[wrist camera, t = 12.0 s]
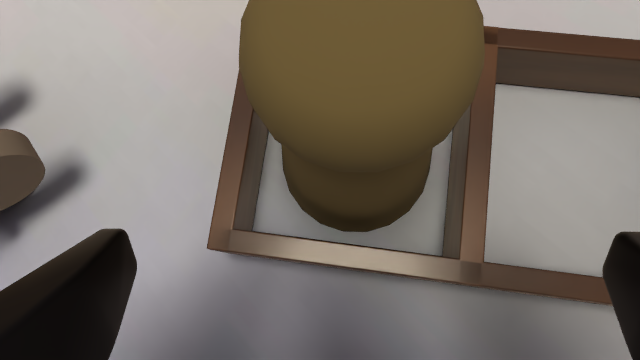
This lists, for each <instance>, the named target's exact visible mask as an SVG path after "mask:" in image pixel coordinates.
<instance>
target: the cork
mask: <svg viewBox="0 0 640 360" xmlns="http://www.w3.org/2000/svg"><path fill="white" fill-rule="evenodd" d="M484 58H485V45H484V25H483V15H482V13H481V10H480V8H479V5H478V3H477V1H476V0H249V2H248V4H247V7H246V9H245V12H244V14H243V17H242V19H241V31H240V47H239V69H240V72H241V76H242V79H243V83H244V87H245V90H246V94H247V97H248V101H249V103H250V104H251V106H252V107H253V109H254V110H255V112H256V113H257V115H258V116H259V118H260V119H261V120H262V122H263V123H264V125H265V126H266V128H267V129H268V130H269V132H270V133H271V135H272V136H273V138H274V139H275V140H277V141H278V142H279V143H281V144H282V159H283V171H284V174H285V177H286V181H287V184H288V188H289V191H290V193H291V194H292V195H293V197H294V198H295V200H296V201H297V203H298V204H299V206H300V207H301V209H302V210H303V211H305V212H306V213H307V214H309V215H310V216H311V217H313V218H314V219H315V220H317V221H318V222H319V223H321V224H323V225H326V226H329V227H332V228H335V229H338V230H341V231H354V232H368V231H371V230H374V229H377V228H381V227H384V226H387V225H390V224H391V223H393V222H394V221H396V220H397V219H398V218H400V217H401V216H403V215H404V214H406V213H407V212H408V211H409V210H410V209H411V207H412V206H413V205H414V203H415V202H416V201H417V199H418V198H419V197H420V195H421V194H422V192H423V189H424V186H425V183H426V180H427V177H428V173H429V170H430V162H431V155H432V148H433V147H435V146H436V145H438V144H439V143H440V142H442V141H443V140H444V139H445V138H446V137H447V135H448V134H449V133H450V131H451V130H452V129H453V127H454V126H455V125H456V123H457V122H458V121H459V119H460V118H461V117H462V115H463V114H464V113H465V111H466V110H467V108H468V107H469V106H470V104H471V103H472V102H473V100H474V96H475V93H476V90H477V87H478V83H479V80H480V77H481V74H482V70H483V67H484Z"/></svg>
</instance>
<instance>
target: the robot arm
mask: <svg viewBox="0 0 640 360" xmlns="http://www.w3.org/2000/svg"><path fill="white" fill-rule="evenodd" d="M136 271H137V262H136V258H135V255H134V252H133V249H132V246H131V243H130V240H129V237H128V235H127V233H126V231H125V230H123V229H101V230H99V231H98V232H96V233H94V234H93V235H91V236H90V237H88V238H86V239H85V240H83V241H81V242H80V243H78V244H77V245H75V246H73V247H72V248H70V249H68V250H67V251H65V252H64V253H62V254H60V255H59V256H57V257H55V258H54V259H52V260H50V261H49V262H47V263H46V264H44V265H42V266H41V267H39V268H37V269H36V270H34V271H33V272H31V273H29V274H28V275H26V276H24V277H23V278H21V279H20V280H18V281H16V282H15V283H13V284H11V285H10V286H8V287H7V288H5V289H3V290H2V291H0V360H108V359H109V357H110V354H111V352H112V349H113V347H114V344H115V341H116V338H117V335H118V332H119V329H120V325H121V322H122V319H123V315H124V312H125V309H126V305H127V302H128V299H129V296H130V292H131V289H132V286H133V282H134V279H135V276H136ZM603 279H604V282H605V285H606V287H607V290H608V293H609V296H610V299H611V302H612V304H613V307H614V310H615V313H616V316H617V319H618V321H619V324H620V327H621V330H622V333H623V335H624V338H625V341H626V344H627V346H628V349H629V352H630V354H631V357H632V359H633V360H640V232H620V233H618V234H617V235H616V236H615V238H614V240H613V242H612V245H611V247H610V250H609V252H608V255H607V257H606V260H605V262H604V265H603Z"/></svg>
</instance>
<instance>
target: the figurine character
mask: <svg viewBox="0 0 640 360" xmlns="http://www.w3.org/2000/svg"><path fill="white" fill-rule="evenodd" d="M44 175H45V167H44V164H43V163H42V161H41V159H40V158H39V156H38V154H37V153H36V151H35V149H34V148H33V146H32V144H31V142H30V141H29V139H28V138H27V137H26V136H25V135H23V134H22V133H19V132H17V131H13V130H8V129H0V211H1V210H4V209H6V208H8V207H10V206H12V205H14V204H16V203H17V202H19V201H21V200H22V199H24V198H25V197H26V196H28V195H29V194H30V193H31V192H33V191H34V190H35V189H36V188H37V187H38V185H39V184H40V183H41V181H42V180H43V177H44Z"/></svg>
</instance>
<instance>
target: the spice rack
mask: <svg viewBox="0 0 640 360" xmlns="http://www.w3.org/2000/svg"><path fill="white" fill-rule="evenodd" d="M484 45H485V58H484V67H483V70H482V74H481V77H480V80H479V83H478V87H477V90H476V93H475V96H474V100H473V102H472V103H471V104H470V106H469V107H468V108H467V110H466V111H465V113H464V114H463V115H462V117H461V118H460V119H459V121H458V122H457V123H456V125H455V126H454V127H453V136H452V148H451V160H450V172H449V183H448V195H447V207H446V219H445V231H444V243H443V255H442V256H436V255H428V254H421V253H413V252H406V251H398V250H391V249H383V248H375V247H368V246H360V245H353V244H345V243H338V242H330V241H323V240H315V239H307V238H300V237H292V236H285V235H277V234H270V233H262V232H255V231H252V227H253V221H254V214H255V208H256V202H257V196H258V190H259V184H260V178H261V172H262V166H263V160H264V154H265V147H266V141H267V135H268V129H267V128H266V126H265V125H264V123H263V122H262V120H261V119H260V118H259V116H258V115H257V113H256V112H255V110H254V109H253V107H252V106H251V104H250V103H249V101H248V97H247V94H246V90H245V87H244V83H243V79H242V76H241V72H240V69H239V73H238V79H237V84H236V90H235V95H234V101H233V106H232V112H231V117H230V123H229V128H228V134H227V139H226V145H225V150H224V156H223V161H222V167H221V172H220V178H219V183H218V189H217V194H216V200H215V205H214V211H213V216H212V222H211V227H210V233H209V238H208V244H207V249H210V250H215V251H220V252H226V253H231V254H238V255H246V256H253V257H260V258H268V259H275V260H282V261H289V262H297V263H304V264H311V265H318V266H326V267H333V268H340V269H348V270H355V271H362V272H369V273H377V274H384V275H391V276H399V277H406V278H413V279H420V280H428V281H435V282H442V283H449V284H457V285H464V286H471V287H479V288H486V289H493V290H500V291H508V292H515V293H522V294H530V295H537V296H544V297H551V298H559V299H566V300H573V301H581V302H588V303H595V304H602V305H610V306H613V304H612V302H611V299H610V296H609V293H608V290H607V287H606V285H605V282H604V279H603V278H602V277H594V276H587V275H579V274H572V273H564V272H557V271H549V270H542V269H534V268H527V267H519V266H511V265H504V264H496V263H489V262H484V250H485V235H486V220H487V205H488V190H489V175H490V160H491V145H492V130H493V115H494V100H495V85H496V83H504V84H514V85H524V86H534V87H544V88H554V89H565V90H575V91H585V92H595V93H605V94H616V95H626V96H636V97H640V40H633V39H621V38H610V37H599V36H587V35H576V34H564V33H553V32H542V31H530V30H519V29H507V28H498V27H489V26H484Z"/></svg>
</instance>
